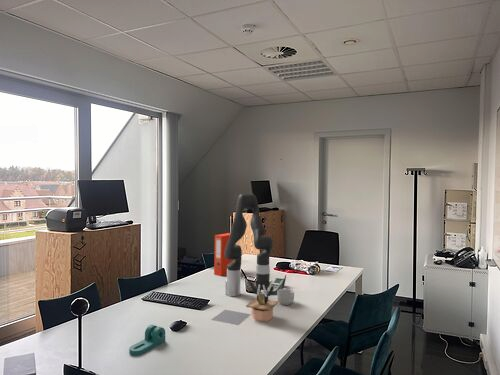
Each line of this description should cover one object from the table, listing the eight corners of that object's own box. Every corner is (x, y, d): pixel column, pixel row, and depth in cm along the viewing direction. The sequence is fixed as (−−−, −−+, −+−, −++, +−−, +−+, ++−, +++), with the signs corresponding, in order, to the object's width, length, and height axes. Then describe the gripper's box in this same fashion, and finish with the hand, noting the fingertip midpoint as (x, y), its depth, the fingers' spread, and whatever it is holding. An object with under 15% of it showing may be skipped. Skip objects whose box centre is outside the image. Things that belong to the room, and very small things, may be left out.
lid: (246, 306, 204) (246, 296, 204) (255, 299, 217) (255, 289, 217) (269, 310, 199) (269, 300, 199) (278, 302, 212) (278, 292, 211)
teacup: (293, 307, 226) (293, 294, 226) (275, 305, 228) (275, 292, 228) (295, 299, 240) (295, 287, 240) (278, 298, 242) (278, 286, 242)
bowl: (249, 319, 206) (249, 309, 205) (257, 313, 216) (257, 303, 215) (267, 323, 201) (268, 312, 201) (274, 316, 211) (274, 305, 211)
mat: (210, 320, 204) (210, 319, 204) (225, 310, 220) (225, 309, 220) (238, 325, 197) (238, 325, 197) (251, 314, 213) (251, 314, 213)
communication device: (260, 294, 252) (260, 281, 251) (271, 284, 274) (271, 272, 273) (277, 296, 247) (277, 283, 247) (286, 286, 270) (286, 274, 269)
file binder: (235, 272, 307) (235, 233, 306) (221, 276, 293) (221, 236, 292) (228, 270, 312) (228, 232, 310) (214, 274, 298) (214, 235, 297)
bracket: (155, 338, 181) (155, 322, 181) (165, 341, 178) (165, 325, 178) (126, 353, 166) (126, 336, 165) (136, 357, 162) (136, 339, 162)
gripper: (248, 272, 207) (248, 302, 207) (272, 275, 201) (271, 306, 202) (254, 269, 214) (253, 298, 214) (277, 271, 208) (276, 302, 209)
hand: (262, 302), depth 208 cm, fingers closed on lid, 3 cm apart
